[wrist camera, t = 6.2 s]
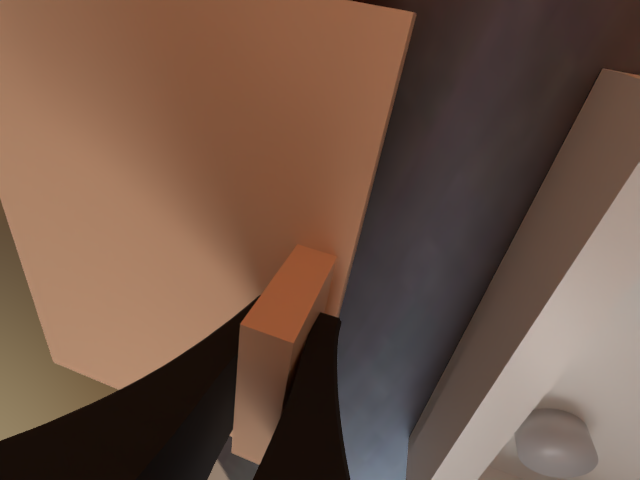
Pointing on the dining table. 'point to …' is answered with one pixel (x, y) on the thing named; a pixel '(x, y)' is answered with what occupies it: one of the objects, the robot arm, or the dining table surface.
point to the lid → (192, 176)
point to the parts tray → (554, 324)
